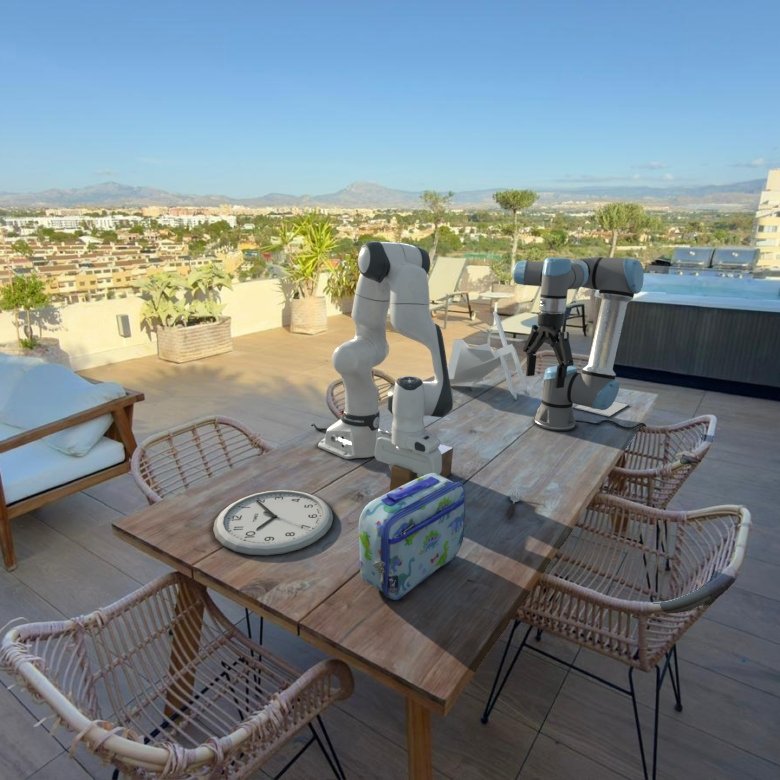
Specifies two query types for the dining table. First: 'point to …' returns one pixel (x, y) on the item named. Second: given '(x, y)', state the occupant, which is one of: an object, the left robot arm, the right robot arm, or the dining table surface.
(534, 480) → the dining table surface
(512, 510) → the fork
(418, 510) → the lunch box
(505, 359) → the white plastic object
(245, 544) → the wall clock
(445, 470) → the bar
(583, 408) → the invitation card
